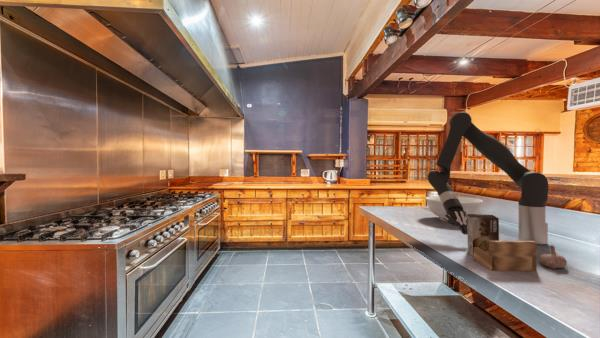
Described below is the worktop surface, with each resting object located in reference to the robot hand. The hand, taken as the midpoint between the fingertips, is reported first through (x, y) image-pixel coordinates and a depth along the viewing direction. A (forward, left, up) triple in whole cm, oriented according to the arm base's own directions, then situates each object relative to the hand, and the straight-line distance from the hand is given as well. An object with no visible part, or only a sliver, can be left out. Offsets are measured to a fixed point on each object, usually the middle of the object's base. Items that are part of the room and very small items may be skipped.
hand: (466, 233), depth 107 cm
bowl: (-25, -52, -6) cm, 58 cm away
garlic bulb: (-17, +21, -6) cm, 27 cm away
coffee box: (0, +10, -6) cm, 11 cm away
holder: (0, +20, -6) cm, 20 cm away
